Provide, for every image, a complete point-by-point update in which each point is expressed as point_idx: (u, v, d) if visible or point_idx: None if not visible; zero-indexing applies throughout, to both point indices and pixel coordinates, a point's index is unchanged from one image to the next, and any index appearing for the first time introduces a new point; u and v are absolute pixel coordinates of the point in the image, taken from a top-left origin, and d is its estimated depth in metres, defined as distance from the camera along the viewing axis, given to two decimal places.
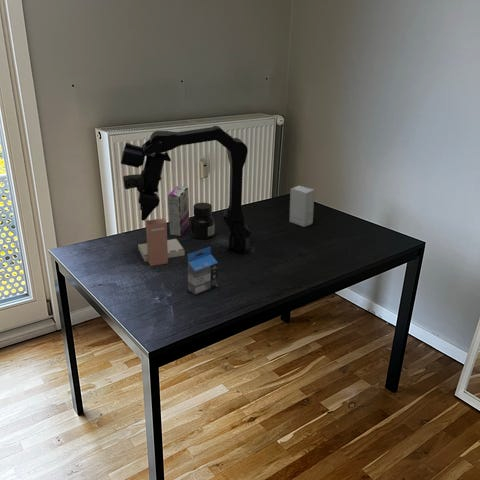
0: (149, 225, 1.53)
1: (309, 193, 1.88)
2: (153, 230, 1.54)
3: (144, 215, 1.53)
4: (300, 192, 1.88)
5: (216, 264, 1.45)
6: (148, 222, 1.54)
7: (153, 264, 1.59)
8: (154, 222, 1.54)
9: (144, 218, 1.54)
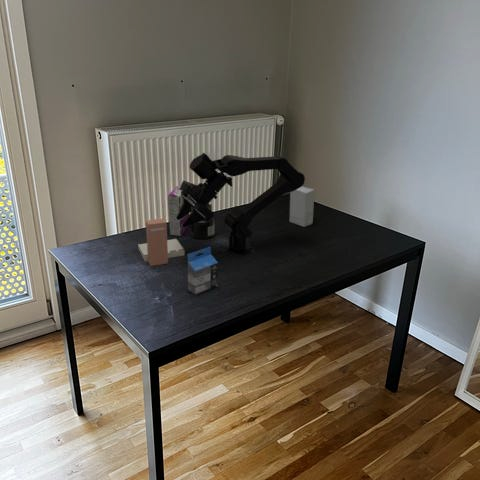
0: (149, 225, 1.53)
1: (309, 193, 1.88)
2: (153, 230, 1.54)
3: (188, 222, 1.55)
4: (300, 192, 1.88)
5: (216, 264, 1.45)
6: (148, 222, 1.54)
7: (153, 264, 1.59)
8: (154, 222, 1.54)
9: (186, 224, 1.56)
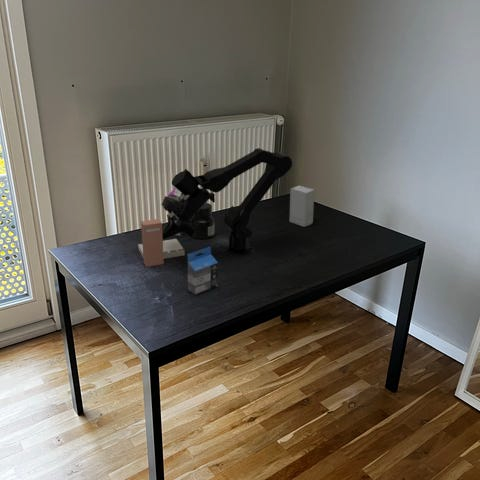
0: (144, 226, 1.52)
1: (309, 193, 1.88)
2: (148, 230, 1.53)
3: (167, 234, 1.57)
4: (300, 192, 1.88)
5: (216, 264, 1.45)
6: (143, 223, 1.54)
7: (148, 265, 1.58)
8: (149, 223, 1.54)
9: (165, 237, 1.58)
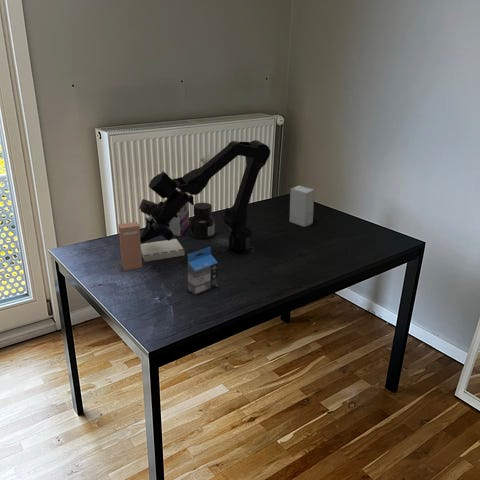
0: (121, 229, 1.50)
1: (309, 193, 1.88)
2: (125, 233, 1.51)
3: (145, 238, 1.55)
4: (300, 192, 1.88)
5: (216, 264, 1.45)
6: (120, 226, 1.51)
7: (126, 268, 1.56)
8: (127, 226, 1.51)
9: (143, 240, 1.55)
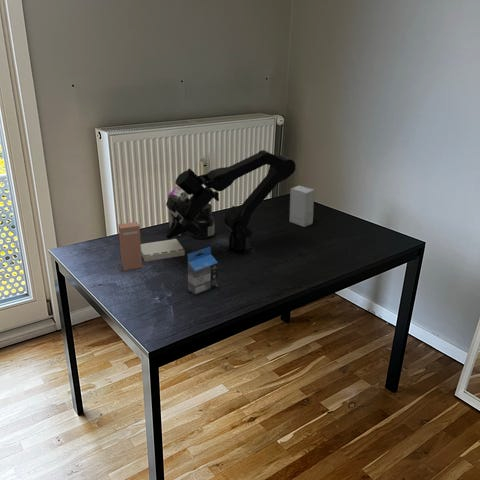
0: (121, 229, 1.50)
1: (309, 193, 1.88)
2: (125, 233, 1.51)
3: (172, 234, 1.58)
4: (300, 192, 1.88)
5: (216, 264, 1.45)
6: (120, 226, 1.51)
7: (126, 268, 1.56)
8: (127, 226, 1.51)
9: (170, 236, 1.59)
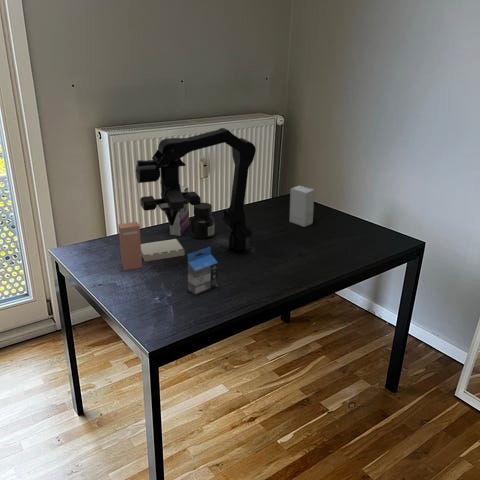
0: (121, 229, 1.50)
1: (309, 193, 1.88)
2: (125, 233, 1.51)
3: None
4: (300, 192, 1.88)
5: (216, 264, 1.45)
6: (120, 226, 1.51)
7: (126, 268, 1.56)
8: (127, 226, 1.51)
9: None
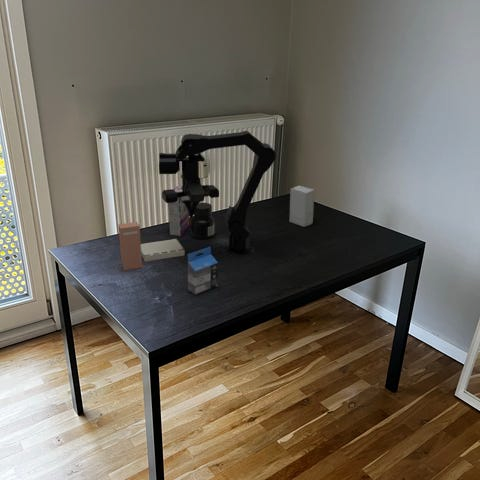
0: (121, 229, 1.50)
1: (309, 193, 1.88)
2: (125, 233, 1.51)
3: None
4: (300, 192, 1.88)
5: (216, 264, 1.45)
6: (120, 226, 1.51)
7: (126, 268, 1.56)
8: (127, 226, 1.51)
9: None
